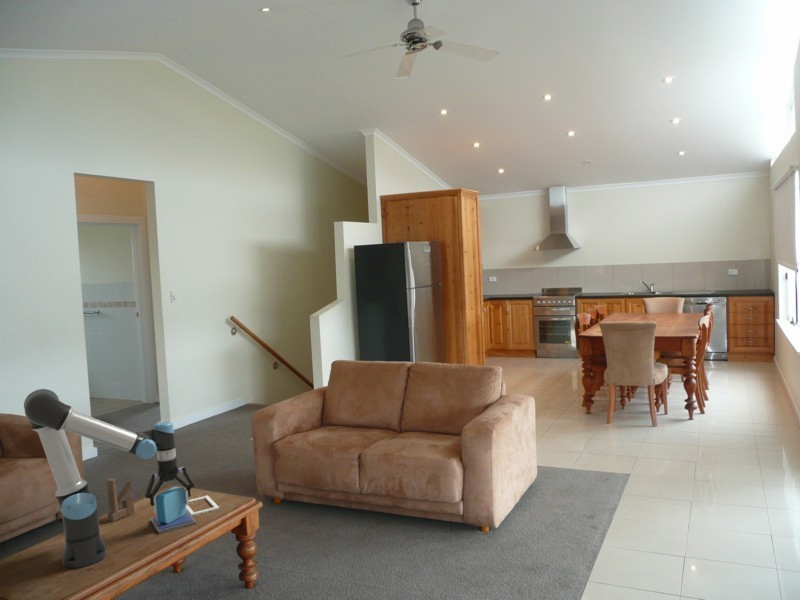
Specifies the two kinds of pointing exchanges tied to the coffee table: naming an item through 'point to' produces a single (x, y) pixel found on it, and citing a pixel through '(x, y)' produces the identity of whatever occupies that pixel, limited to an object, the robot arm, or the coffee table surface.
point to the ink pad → (173, 523)
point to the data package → (171, 505)
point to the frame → (202, 510)
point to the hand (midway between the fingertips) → (171, 508)
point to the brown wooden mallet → (119, 500)
